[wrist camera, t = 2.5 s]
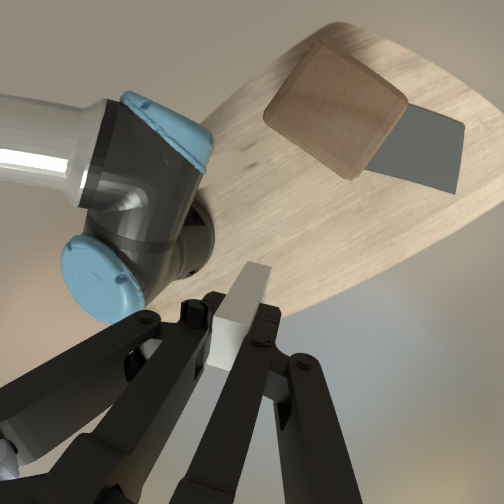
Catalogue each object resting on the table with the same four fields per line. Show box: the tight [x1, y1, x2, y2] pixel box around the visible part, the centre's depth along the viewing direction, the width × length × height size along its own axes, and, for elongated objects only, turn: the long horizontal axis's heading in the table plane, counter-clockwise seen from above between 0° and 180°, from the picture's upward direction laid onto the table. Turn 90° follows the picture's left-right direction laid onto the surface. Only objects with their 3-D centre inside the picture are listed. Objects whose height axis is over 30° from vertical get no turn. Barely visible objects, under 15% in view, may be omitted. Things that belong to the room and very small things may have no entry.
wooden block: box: [263, 40, 408, 181], centre depth 30 cm, size 10×10×20 cm
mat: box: [364, 105, 465, 195], centre depth 37 cm, size 17×12×1 cm
